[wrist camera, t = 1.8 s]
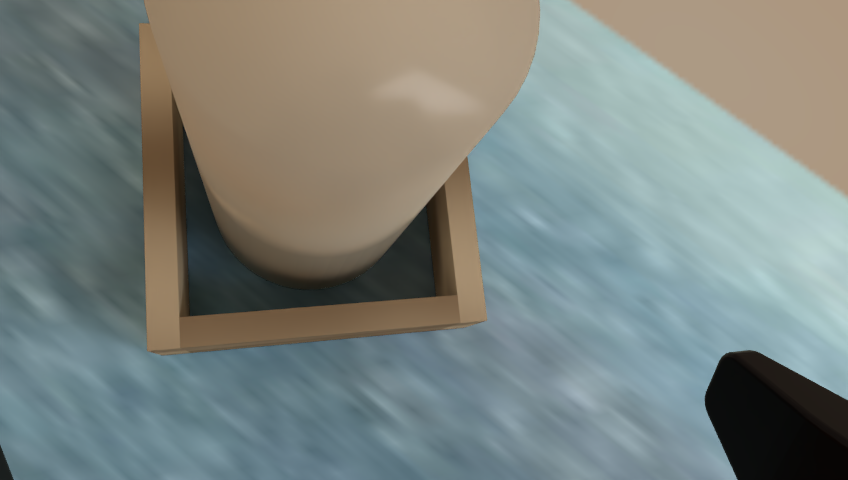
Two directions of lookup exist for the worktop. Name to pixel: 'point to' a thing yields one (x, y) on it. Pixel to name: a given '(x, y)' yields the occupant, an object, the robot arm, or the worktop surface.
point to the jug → (335, 116)
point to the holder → (189, 334)
